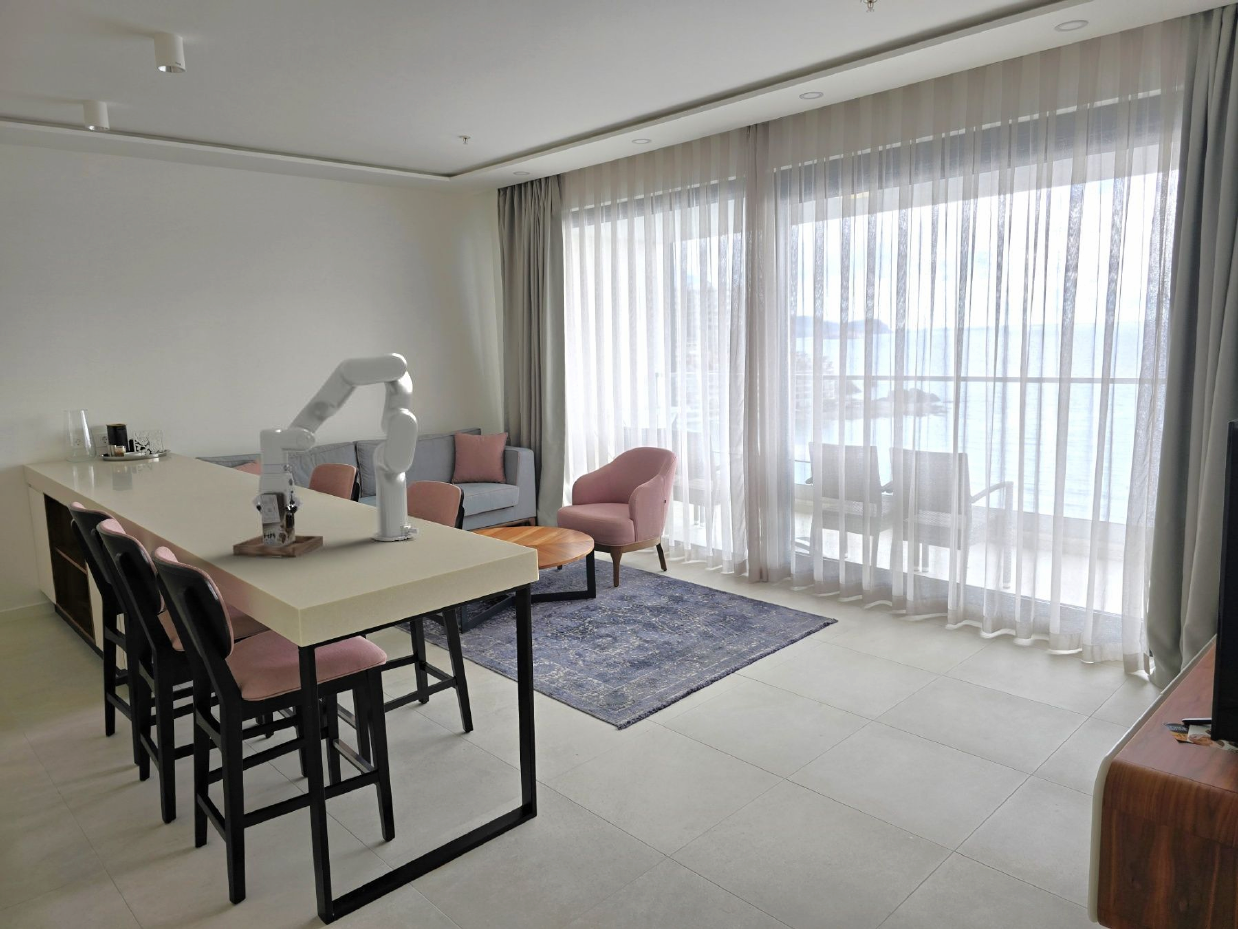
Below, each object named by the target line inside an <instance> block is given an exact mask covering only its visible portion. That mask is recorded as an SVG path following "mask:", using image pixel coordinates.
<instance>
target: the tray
mask: <svg viewBox="0 0 1238 929" xmlns="http://www.w3.org/2000/svg"><path fill="white" fill-rule="evenodd" d="M323 546H324V538H323V535H302V534H301V535H299V534H295V541H293V542H291V543H289V544H287V545H285V546H263V534H261V535H258V536H255V537H253V538H249V539H247V540H244V541H241V542H239V543H235V544H234V545H232V551H233V553H232V554H233V556H239V555H246V556H245V557H267V556H281V557H280V558H298V557H300V556H303V555H304V553H305V554H307V553H309V552H312V551H314V550H316V549H318V547H319V548H320V547H323ZM313 549H314V550H313ZM302 554H303V555H302ZM297 556H298V557H297Z"/></svg>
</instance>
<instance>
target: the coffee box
mask: <svg viewBox="0 0 1238 929" xmlns="http://www.w3.org/2000/svg"><path fill="white" fill-rule="evenodd" d="M261 512H262V515H261V527H262V535H263V546H285V545H287V544H289V543H291V542H293V541H295V535H296V529H295V528H296V527H295V526H296V525H295V524H294V527H291V528H287V527H286V515H288V514H287V512H286V507H285V506H284V497H283V493H264V494H261Z"/></svg>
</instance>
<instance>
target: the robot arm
mask: <svg viewBox="0 0 1238 929" xmlns="http://www.w3.org/2000/svg"><path fill="white" fill-rule="evenodd" d="M381 383H384V387H385V394H384V395H385V399H384V404H383V410H382V411H383V412H382V416H381V421H380V422H381V423H380V427H381V430H382V432H383V433H384V434H385V435H386V437H385V441H383V442H381V443H380V444H378V445H377V446H376V447H375V449H374V451H373V455H372V456H373V457H372V461H373V463H372V464H373V468H374V475H375V495H376V499H375V500H376V516H377V517H376V519H377V520H376V522H377V523H376V524H377V532H376V533H374V534H373V535H372V539H373V540H376V541H378V540H379V541H380V542H396V541H395V540H399V541H404V539H405V540H408V539H407V538H409V539H411V538H413V536H414V534H419V532H420V527H419V526H412V525H411V522H409V521H408V498H407V497H408V496H407V494H408V493H407V479H406V478H407V477H406V472H407V471H408V470H409V469H410V468H411V466H412V464H413V462H414V457H415V451H416V446H417V439H418V434H419V433H418V432H419V425H418V424H419V423H418V420H417V418H416V416H415V415H414V413H413V412H412V408H413V407H412V406H413V405H412V404H413V397H414V396H413V394H414V388H413V387H414V386H413V382H412V379H411V377H410V374H409V373H408V362H407V360H406V359H405V357H404V356H403V355H401V354H400V353H396V352H383V353H380V354H378V355H371V356H365V357H352V358H351V357H350V358H345V359H343V360H342V361H341V362H340V363H339V364H338V365H337V367H336V368H335V369H334V370H333V372H332V373H331V374H330V375H329V377H328V378H327V379H326V381H324V384H323V385H322V386H321V387H320V389H318V391H317V392H316V394H314V396H313V397H312V398H311V399H310V400H309V402H308V403H306V405H305V406H304V407H303V408H302V409H301V410H300V411H299V413H298V414H297V415H296V417H295V418H294V419H293V421H292V422H291V423H290V425H289V426H288V427H287V429H283V428H274V427H273V428H265V429H264V428H263V429H261V431H260V432H259V448H260V464H261V474H259V475H260V476H259V480H258V495H257V496H256V497H255V498H254V499H253V500H252V501H251V503H252V505H254V506H255V508H256V510H257V511H258V512H259V514H260V515H261V516H262V512H261V494H264V493H283V497H284V506H285V507H286V512H287V514H288V515H286V527H287V528H291V527H294V525H295V520H296V519H295V514H296V512H298V510H299V509H300V507H301V506H302V505H303V504H304V502H303V500H302V499H300V498H299V497H298V496H297V491H296V485H295V480H294V477H293V474H292V472H290V471H292V470H293V466H292V465H289V453H288V452H293V453H294V452H295V453H304V452H307V451H310V450H311V449H313V447H314V446H315V444H316V437H315V434H316V432H317V431H318V430H319V428H321V426H322V425H323V424H324V423H325V422H326V421H327V420H329V418H331V417H333V416H335V415H336V414H337V413H338V412H340V411H341V409H343V407H344V406H345V404H346V403H347V401H348V400H349V399H350V397H351V396H352V395H354V394H353V393H355V392H356V390H357V389H358V387H361V386H368V385H374V384H375V385H376V384H381Z"/></svg>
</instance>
